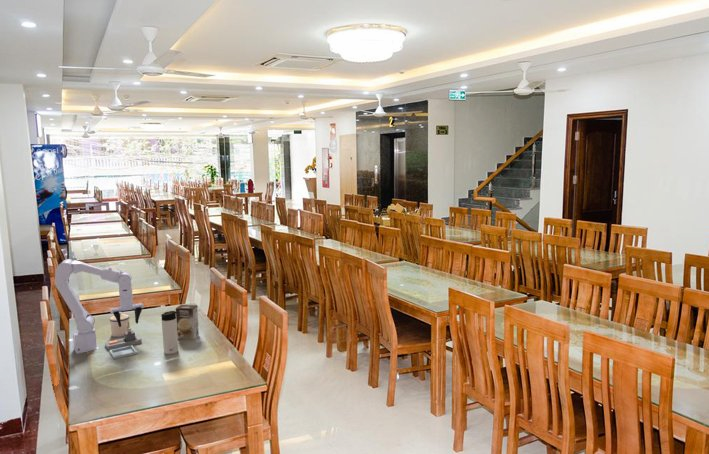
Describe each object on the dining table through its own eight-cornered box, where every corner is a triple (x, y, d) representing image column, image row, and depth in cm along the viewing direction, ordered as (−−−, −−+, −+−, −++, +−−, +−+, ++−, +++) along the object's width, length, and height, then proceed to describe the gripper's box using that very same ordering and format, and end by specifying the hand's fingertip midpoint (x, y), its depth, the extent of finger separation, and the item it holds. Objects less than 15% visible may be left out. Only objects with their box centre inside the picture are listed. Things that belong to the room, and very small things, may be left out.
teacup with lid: (132, 334, 258) (130, 312, 257) (112, 338, 253) (110, 316, 251) (127, 328, 268) (125, 307, 266) (108, 332, 263) (106, 310, 261)
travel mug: (174, 356, 229) (171, 314, 226) (161, 355, 231) (158, 313, 228) (181, 351, 235) (178, 309, 233) (169, 350, 237) (166, 309, 234)
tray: (114, 360, 226) (113, 357, 226) (109, 353, 234) (109, 350, 234) (137, 354, 232) (137, 351, 232) (132, 348, 240) (132, 345, 240)
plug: (127, 346, 242) (125, 330, 241) (125, 344, 246) (123, 328, 244) (135, 344, 245) (134, 328, 244) (133, 342, 248) (132, 326, 247)
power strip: (108, 351, 236) (107, 345, 236) (105, 347, 242) (104, 340, 242) (141, 344, 245) (141, 338, 245) (138, 339, 251) (137, 334, 250)
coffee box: (176, 339, 251) (174, 308, 248) (182, 334, 257) (180, 304, 255) (194, 339, 250) (192, 308, 248) (199, 335, 256) (197, 304, 254)
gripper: (111, 302, 234) (113, 330, 236) (144, 296, 243) (146, 323, 245) (108, 298, 240) (110, 326, 242) (140, 293, 249) (142, 320, 251)
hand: (128, 324), depth 244 cm, fingers open, 7 cm apart
